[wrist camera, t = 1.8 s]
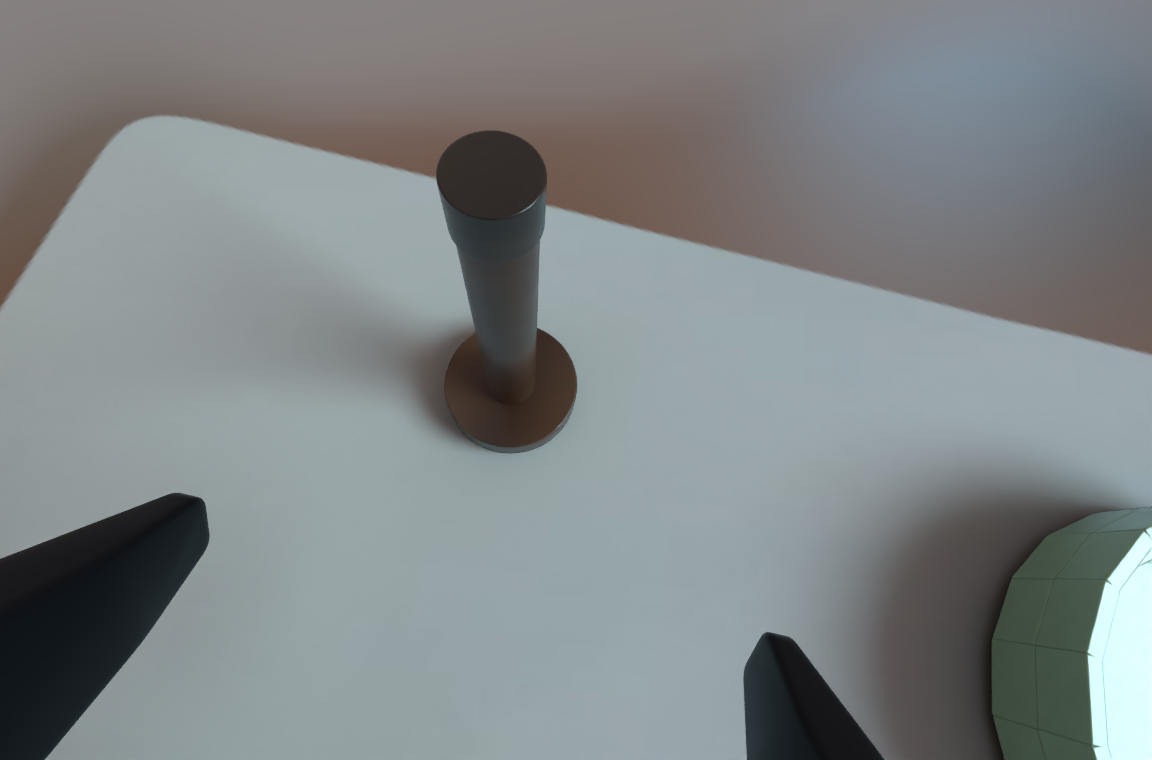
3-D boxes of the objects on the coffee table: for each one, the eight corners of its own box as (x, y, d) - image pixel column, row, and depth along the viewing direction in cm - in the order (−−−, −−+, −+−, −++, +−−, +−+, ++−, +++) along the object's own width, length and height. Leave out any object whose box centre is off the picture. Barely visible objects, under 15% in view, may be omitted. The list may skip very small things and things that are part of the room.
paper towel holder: (429, 432, 23) (296, 249, 10) (472, 319, 25) (409, 39, 12) (555, 468, 23) (591, 333, 10) (588, 352, 25) (656, 107, 12)
